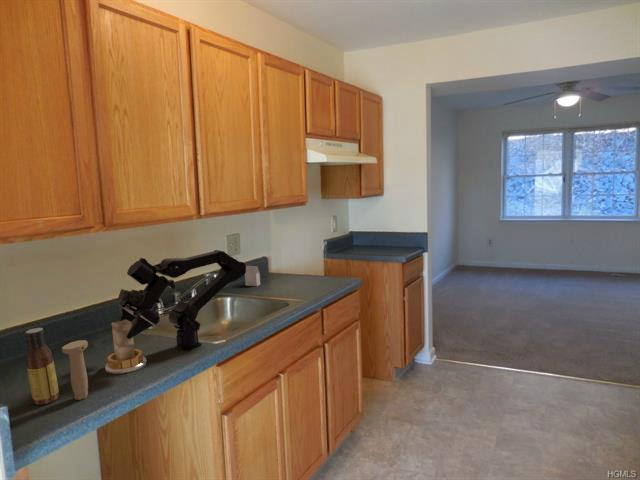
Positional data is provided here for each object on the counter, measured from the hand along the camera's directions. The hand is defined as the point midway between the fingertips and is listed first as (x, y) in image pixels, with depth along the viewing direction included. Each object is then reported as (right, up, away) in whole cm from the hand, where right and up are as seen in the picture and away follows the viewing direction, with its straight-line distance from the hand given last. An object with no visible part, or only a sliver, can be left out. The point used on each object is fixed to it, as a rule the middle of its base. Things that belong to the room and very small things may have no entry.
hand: (121, 334), depth 147 cm
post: (+1, -9, +2) cm, 9 cm away
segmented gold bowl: (+1, -10, +2) cm, 10 cm away
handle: (-3, -13, -19) cm, 23 cm away
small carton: (+26, +6, +102) cm, 105 cm away
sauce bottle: (-12, -14, -19) cm, 27 cm away
